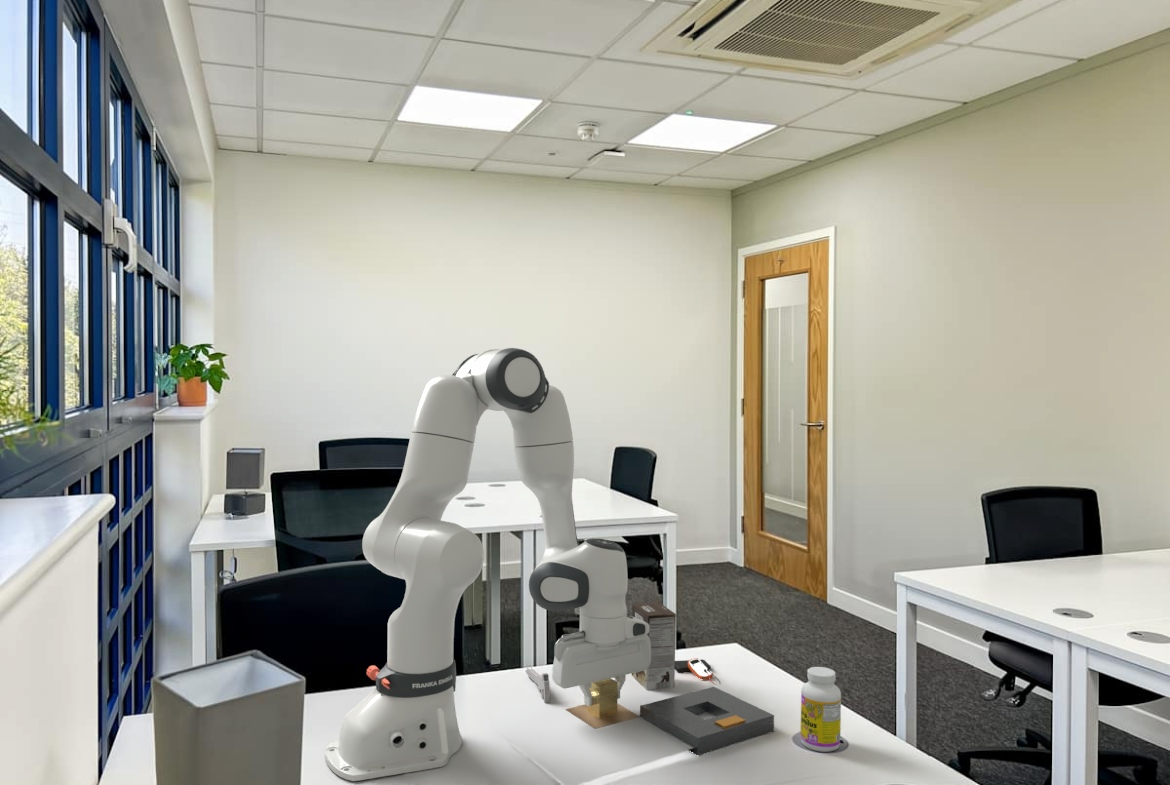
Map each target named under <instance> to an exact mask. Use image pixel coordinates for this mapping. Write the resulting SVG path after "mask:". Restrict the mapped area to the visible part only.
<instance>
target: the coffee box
mask: <svg viewBox="0 0 1170 785" xmlns="http://www.w3.org/2000/svg"><path fill="white" fill-rule="evenodd" d="M631 616H632V617H635V618H638V619H640V620H642V621H644V622H646V623H648V624H649V633H648V634H646V635H648V636H649V638H650V642H651V664H650V666H649V668H648V669H647V670H644V671H640V672H635V673H631V676H632V678H633V679H634V680H635V681H636V682H637V683H638V684H640V686H642V688H644V689H645V690H646V691H651V690H653V691H654V690H662V689H664V690H665V689H670V688H675V677H676V676H675V673H676V672H675V671H676V670H675V661H676V629H677V628H676V627H677V626H676V624H677V614H676V613H675V612H674V611H672V610H671V609H669V608H668V607H667V606H665V605H663V604H662V603H661V602H660V601H659V602H658V601H657V602H656V601H655V602H638V603H632V604H631Z"/></svg>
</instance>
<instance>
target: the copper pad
mask: <svg viewBox="0 0 1170 785" xmlns="http://www.w3.org/2000/svg"><path fill="white" fill-rule="evenodd" d="M565 711H567V712H568V713H569V714H571V715H573V716H574V717H576V718H577V719H579V720H581V721H582V722H584V723H585V724H586V725H588V726H589V727H591V728H593V729H594V730H595V729H600V728H603V727H607V726H611V725H614V724H618V723H622V722H625V721H629V720H634V719H637V718H641V717H640V715H638V714H636V713H635V712H633V711H631V710H630V709H628V708H627V707H625V706H623V705H621V704H619V702H617V715H613V716H609V717H605V718H601V719H599V718H597V717H595V716H594V715H592V714H591V713H589V712H587V705H586V704H585V703H584V704H582V705H577V706H573V707H570V708H569V707H568V708H566V709H565Z"/></svg>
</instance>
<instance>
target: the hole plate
mask: <svg viewBox="0 0 1170 785" xmlns="http://www.w3.org/2000/svg"><path fill="white" fill-rule="evenodd" d="M706 713H708V714H710V715H712V716H714V717H710V718H707V719H704V718H702V717H700V716H701V715H703V714H706ZM699 715H700V716H699ZM639 716H640V717H639V718H641V719H643V720H645V721H647V722H648V723H650V724H652V725H654V726H655V727H657V728H658V729H660V730H662V731H663V732H666V733H667V734H668V735H670V736H673V737H674V738H675V739H677V740H680V741H681V742H683V743H685V744H686V745H688V746H690V748H688V749H687V751H689V752H690V751H691V753H692V752H693V753H692V754H693V755H695V754H696V755H695V756H697V755H698V756H700V755H701V754H702V755H705V754H707V752H708V753H710V752H714V751H716V750H717V751H718V750H721V749H723V748H726V747H730V746H732V745H736V744H739V743H743V742H746V741H748V740H752V739H755V738H758V737H762V736H764V735H768V734H770V733H774V732H775V731H774V730H775V714H773V713H770V712H768V711H766V710H764V709H762V708H760V707H757V706H756V705H753V704H751V703H749V702H748V701H745V700H743V699H741V698H740V697H739V698H738V697H736V696H735V695H732V694H730V693H729V692H726V691H724V690H722V689H719V688H718V687H715V686H711V687H707V688H703V689H701V690H700V689H699V690H695V691H692V692H688V693H684V694H680V695H676V696H673V697H672V696H671V697H669V698H668V697H667V698H665V699H660V700H658V701H652V702H650V703H649V702H648V703H646V704H641V705H640V706H639ZM691 747H692V748H691ZM720 748H721V749H720ZM704 753H705V754H704ZM702 755H701V756H702Z"/></svg>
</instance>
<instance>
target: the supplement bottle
mask: <svg viewBox="0 0 1170 785" xmlns="http://www.w3.org/2000/svg"><path fill="white" fill-rule="evenodd" d="M836 678H837V676H836V671H835V670H833V669H831V668H829V667H824V666H811V667H809V668H807V679H808V681H807V682H805V683H804V684H803V685H802V686H801V691H800V692H801V696H800V700H801V701H800V702H801V703H800V741H801V743H802V744H803V746H804V747H805V748H808V749H809V750H811V751H816V752H822V753H824V752H825V753H827V752H833V751H836V750H838V748H840V745H841V720H842V719H841V717H842V716H841V715H842V714H841V713H842V706H841V705H842V692H841V689H840V688H839V687H838V686H837V685H836V684H835V683H836Z"/></svg>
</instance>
